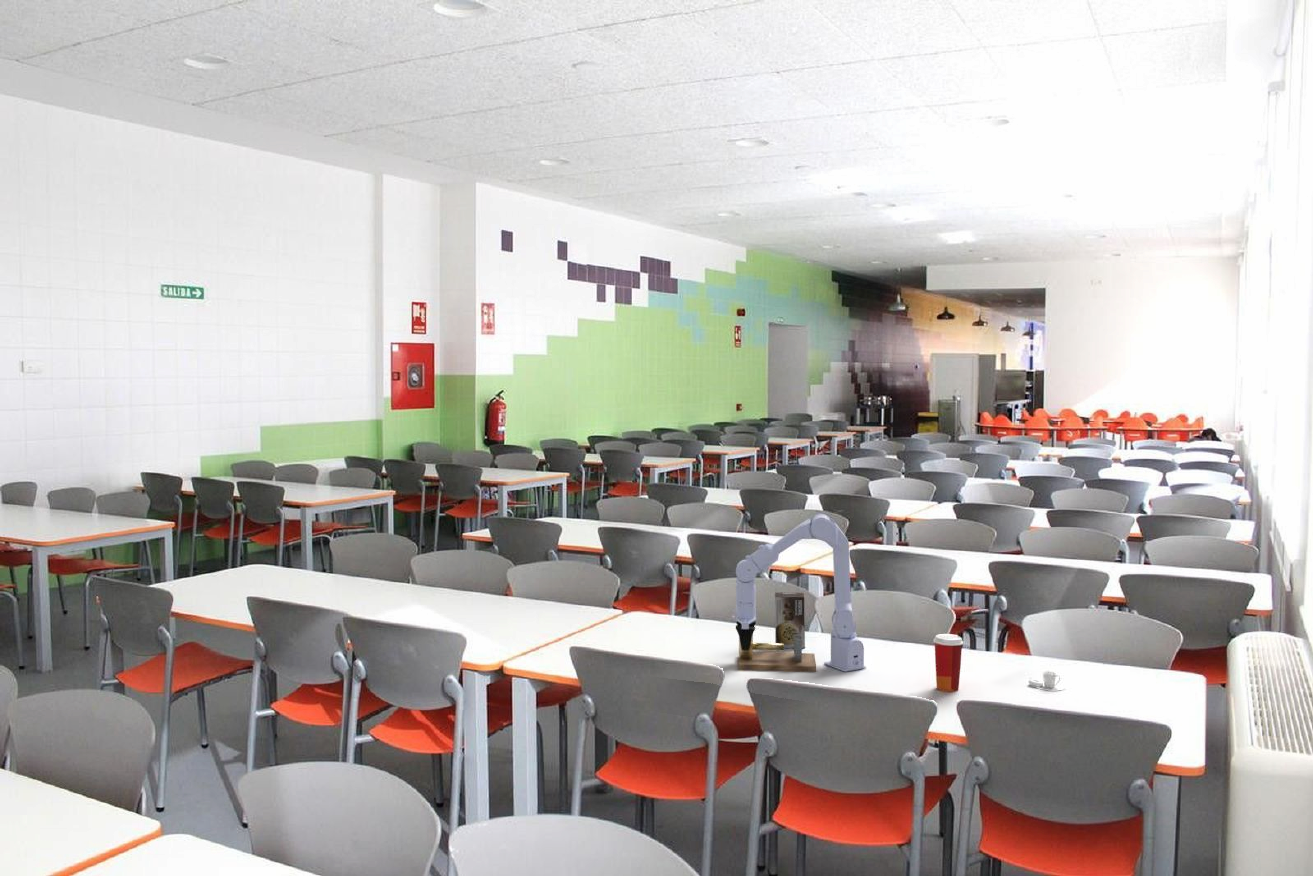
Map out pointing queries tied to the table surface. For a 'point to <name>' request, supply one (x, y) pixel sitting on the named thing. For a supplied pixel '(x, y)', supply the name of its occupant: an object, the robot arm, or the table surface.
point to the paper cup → (948, 661)
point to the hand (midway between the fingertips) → (745, 648)
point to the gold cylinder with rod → (758, 648)
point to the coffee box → (789, 618)
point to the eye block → (781, 660)
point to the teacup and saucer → (1047, 681)
